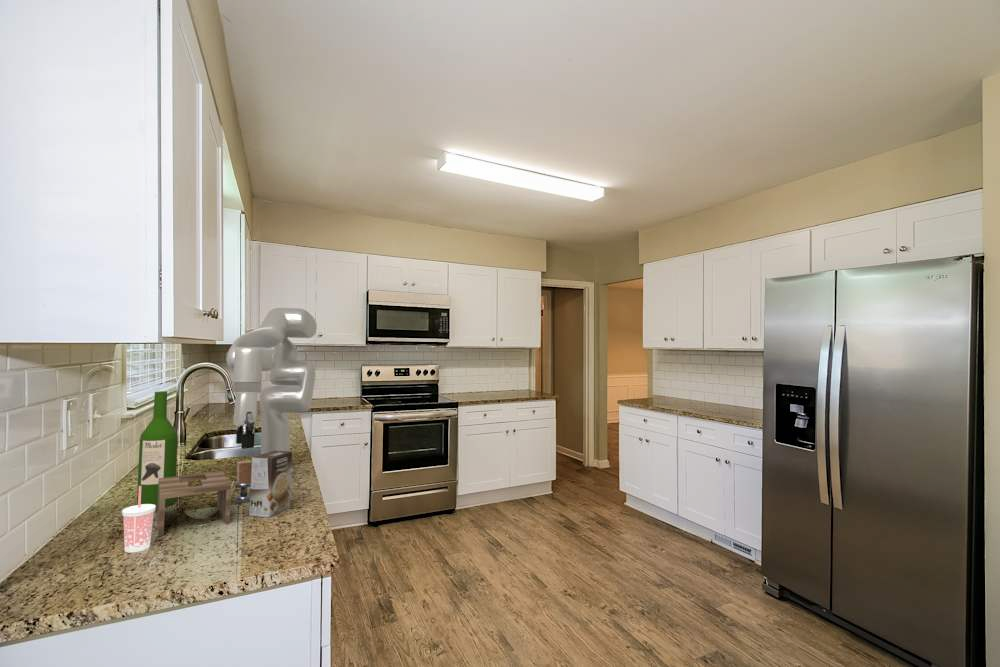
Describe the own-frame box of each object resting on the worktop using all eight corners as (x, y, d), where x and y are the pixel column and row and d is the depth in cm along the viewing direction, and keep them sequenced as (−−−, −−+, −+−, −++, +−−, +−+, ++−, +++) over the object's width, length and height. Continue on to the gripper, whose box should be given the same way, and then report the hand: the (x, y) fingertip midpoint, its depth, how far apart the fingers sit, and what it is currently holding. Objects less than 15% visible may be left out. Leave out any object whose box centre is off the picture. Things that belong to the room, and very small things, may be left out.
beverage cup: (157, 541, 111) (160, 481, 112) (148, 552, 105) (151, 488, 106) (126, 544, 109) (129, 483, 109) (115, 555, 103) (118, 491, 104)
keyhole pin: (232, 499, 142) (234, 461, 142) (251, 496, 145) (252, 459, 145) (235, 504, 138) (236, 464, 138) (254, 501, 141) (255, 462, 141)
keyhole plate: (157, 515, 128) (158, 478, 128) (221, 505, 137) (222, 470, 137) (158, 536, 114) (160, 494, 114) (229, 523, 123) (230, 484, 123)
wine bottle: (132, 512, 130) (137, 393, 131) (141, 502, 138) (146, 390, 139) (171, 508, 134) (175, 392, 135) (178, 498, 142) (182, 390, 143)
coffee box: (269, 518, 127) (271, 458, 128) (248, 516, 129) (250, 456, 129) (291, 507, 136) (292, 451, 137) (271, 505, 138) (273, 449, 138)
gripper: (229, 386, 147) (226, 442, 146) (237, 390, 133) (235, 451, 132) (255, 386, 152) (253, 440, 151) (266, 389, 138) (264, 448, 137)
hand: (244, 445), depth 141 cm, fingers open, 9 cm apart
